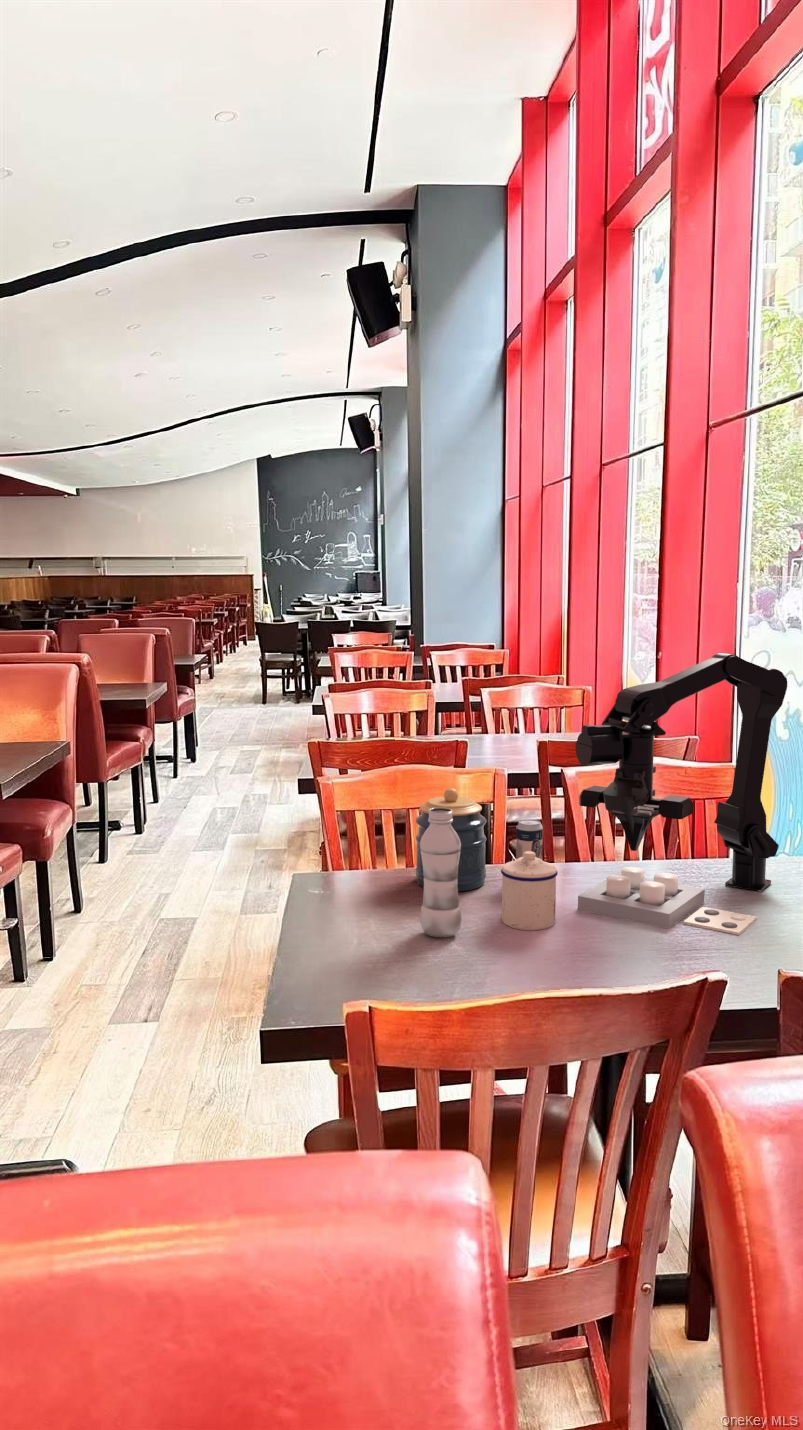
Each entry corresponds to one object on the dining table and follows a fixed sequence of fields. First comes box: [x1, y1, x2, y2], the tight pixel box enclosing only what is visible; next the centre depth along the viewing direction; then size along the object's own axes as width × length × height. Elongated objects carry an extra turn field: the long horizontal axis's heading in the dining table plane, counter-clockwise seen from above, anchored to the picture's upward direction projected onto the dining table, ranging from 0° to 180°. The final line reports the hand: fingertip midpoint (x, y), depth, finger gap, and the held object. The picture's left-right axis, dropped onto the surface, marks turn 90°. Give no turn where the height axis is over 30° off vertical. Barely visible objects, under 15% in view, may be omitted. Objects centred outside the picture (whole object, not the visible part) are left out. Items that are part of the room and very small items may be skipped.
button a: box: [620, 866, 646, 891], centre depth 173 cm, size 4×4×3 cm
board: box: [577, 873, 706, 929], centre depth 169 cm, size 16×16×2 cm
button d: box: [639, 881, 665, 906], centre depth 165 cm, size 4×4×3 cm
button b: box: [653, 872, 679, 897], centre depth 170 cm, size 4×4×3 cm
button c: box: [605, 874, 631, 899], centre depth 168 cm, size 4×4×3 cm
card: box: [682, 906, 758, 936], centre depth 161 cm, size 9×9×1 cm
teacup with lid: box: [500, 851, 559, 931], centre depth 162 cm, size 12×9×12 cm
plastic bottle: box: [419, 808, 463, 938], centre depth 155 cm, size 6×7×20 cm
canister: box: [415, 787, 487, 892], centre depth 182 cm, size 13×13×18 cm
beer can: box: [515, 819, 544, 860], centre depth 180 cm, size 5×5×12 cm
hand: (634, 850), depth 172 cm, fingers closed
